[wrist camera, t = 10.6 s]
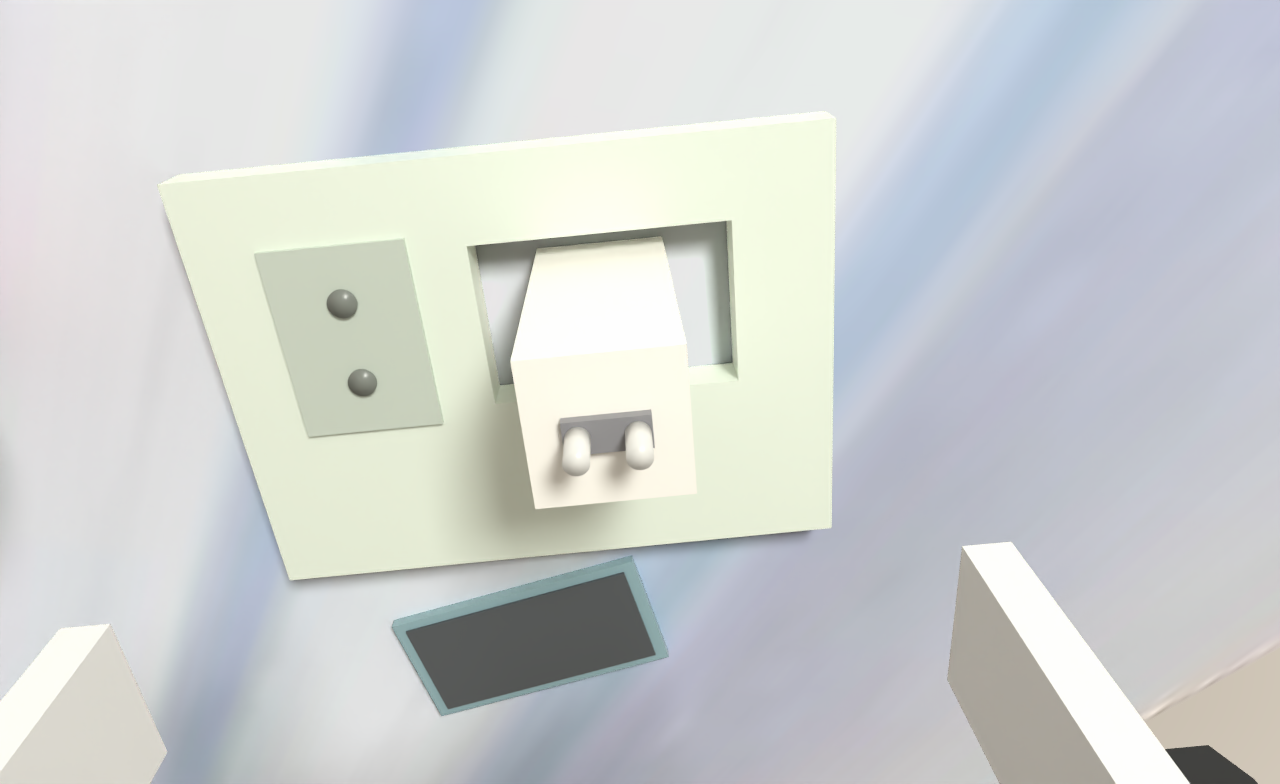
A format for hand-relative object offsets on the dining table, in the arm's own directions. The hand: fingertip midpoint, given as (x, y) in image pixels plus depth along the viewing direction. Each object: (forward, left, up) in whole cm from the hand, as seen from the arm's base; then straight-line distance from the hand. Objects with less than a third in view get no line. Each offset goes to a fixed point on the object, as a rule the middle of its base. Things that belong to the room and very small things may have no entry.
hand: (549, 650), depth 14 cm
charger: (+1, -1, -20) cm, 20 cm away
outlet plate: (-2, -3, -20) cm, 20 cm away
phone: (-4, -17, -20) cm, 27 cm away
